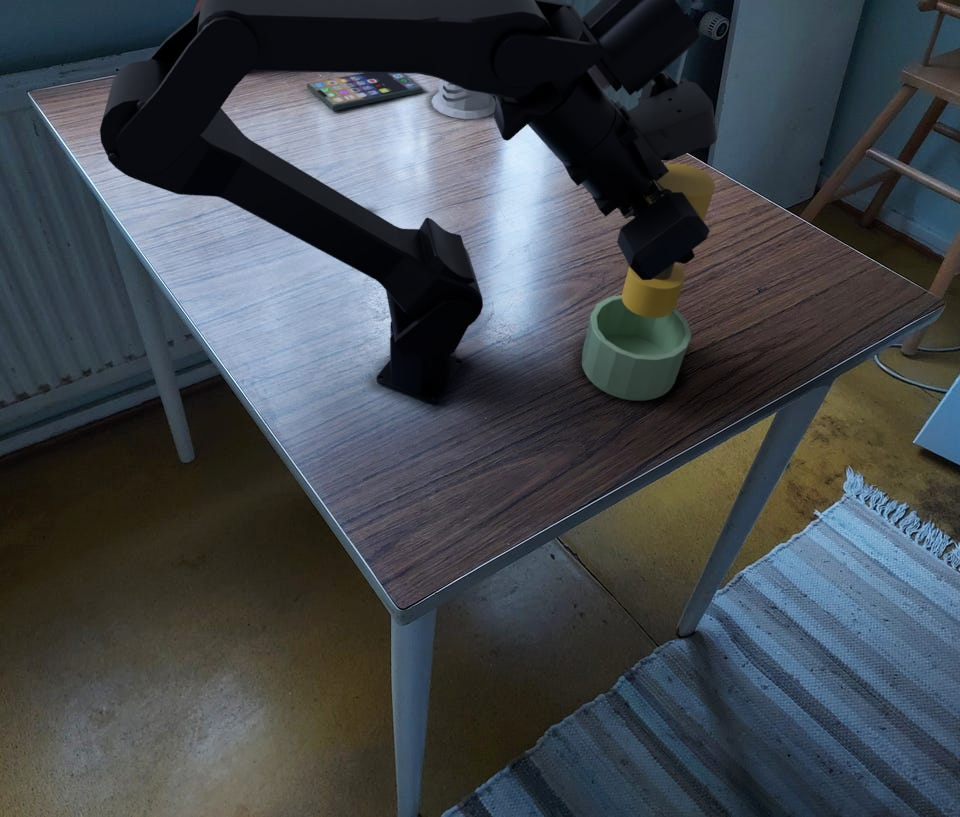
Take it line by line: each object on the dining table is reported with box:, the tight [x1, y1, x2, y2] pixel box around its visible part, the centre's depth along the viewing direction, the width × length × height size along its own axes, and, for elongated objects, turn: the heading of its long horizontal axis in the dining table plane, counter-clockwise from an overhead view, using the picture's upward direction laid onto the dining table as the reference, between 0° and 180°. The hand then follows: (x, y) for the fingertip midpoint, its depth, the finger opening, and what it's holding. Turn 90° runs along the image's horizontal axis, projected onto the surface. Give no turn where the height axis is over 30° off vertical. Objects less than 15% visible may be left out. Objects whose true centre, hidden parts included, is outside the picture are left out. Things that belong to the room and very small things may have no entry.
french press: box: [431, 78, 496, 120], centre depth 108 cm, size 10×12×25 cm
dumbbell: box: [621, 163, 716, 318], centre depth 71 cm, size 5×5×13 cm
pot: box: [581, 294, 692, 402], centre depth 77 cm, size 10×10×6 cm
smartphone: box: [306, 73, 424, 111], centre depth 117 cm, size 8×15×1 cm, turn 125°
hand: (679, 243), depth 71 cm, fingers closed on dumbbell, 5 cm apart
